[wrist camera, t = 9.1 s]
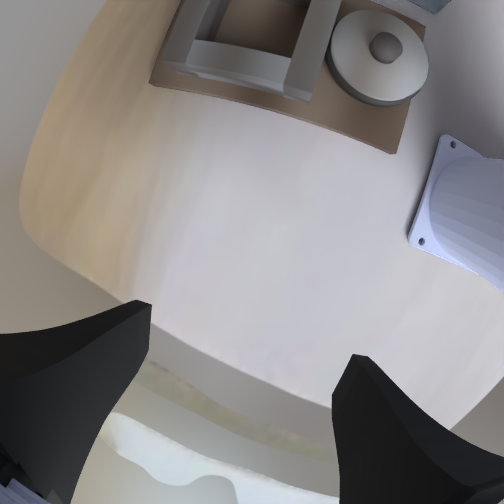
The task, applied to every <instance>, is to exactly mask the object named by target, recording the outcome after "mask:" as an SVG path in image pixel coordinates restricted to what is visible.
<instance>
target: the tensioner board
mask: <svg viewBox="0 0 504 504" xmlns="http://www.w3.org/2000/svg"><path fill="white" fill-rule="evenodd" d="M424 32H425V26H424V25H422V24H420V23H418V22H416V21H414V20H412V19H410V18H408V17H406V16H404V15H401V14H399V13H397V12H395V11H393V10H390V9H388V8H386V7H383V6H381V5H378V4H376V3H374V2H371V1H368V0H181V2H180V4H179V7H178V9H177V11H176V13H175V15H174V18H173V20H172V22H171V25H170V27H169V29H168V32H167V34H166V37H165V39H164V42H163V44H162V47H161V49H160V52H159V55H158V57H157V60H156V63H155V66H154V69H153V71H152V74H151V77H150V80H149V83H150V84H152V85H154V86H158V87H165V88H171V89H177V90H183V91H188V92H194V93H199V94H204V95H209V96H213V97H218V98H223V99H227V100H231V101H235V102H239V103H243V104H247V105H251V106H255V107H259V108H263V109H266V110H270V111H273V112H277V113H280V114H283V115H287V116H290V117H293V118H296V119H299V120H303V121H306V122H309V123H312V124H315V125H318V126H320V127H323V128H326V129H329V130H332V131H334V132H337V133H340V134H343V135H345V136H348V137H350V138H353V139H355V140H358V141H361V142H363V143H365V144H368V145H370V146H373V147H375V148H377V149H380V150H382V151H384V152H387V153H389V154H396V152H397V148H398V145H399V142H400V138H401V135H402V131H403V127H404V124H405V120H406V116H407V112H408V109H409V105H410V101H411V98H413V97H414V96H415V95H416V94H417V93H418V92H419V91H420V89H421V88H422V86H423V84H424V82H425V80H426V78H427V75H428V69H429V62H428V56H427V53H426V50H425V47H424V45H423V38H424Z"/></svg>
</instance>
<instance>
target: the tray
mask: <svg viewBox="0 0 504 504" xmlns="http://www.w3.org/2000/svg"><path fill="white" fill-rule="evenodd" d="M408 1H410V2H412V3H415V4H417V5H419V6H420V7H422V8H424V9H426V10H428V11H430V12H432V13H434V14H436V13H438V12H439V11H440V10H441V9H442V8H443V7H444V6H445V5H446V4H447V3H449V2H450V1H451V0H408Z"/></svg>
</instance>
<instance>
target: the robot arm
mask: <svg viewBox="0 0 504 504" xmlns="http://www.w3.org/2000/svg"><path fill="white" fill-rule="evenodd" d="M451 141H452V142H453V144H454V147H453V148H452V147H451V145H450V143H451ZM420 238H422V239H423V242H422V243H421V244H419V243H418V241H419V239H420ZM407 239H408V242H409V244H411V245H412V246H414V247H416V248H419V249H421V250H424V251H426V252H428V253H431V254H433V255H435V256H438V257H440V258H443V259H445V260H447V261H449V262H452V263H454V264H456V265H459V266H461V267H463V268H465V269H468V270H470V271H472V272H474V273H476V274H478V275H479V276H481V277H482V278H484V279H485V280H486V281H488V282H489V283H490V284H492V285H493V286H494V287H496V288H497V289H498V290H500V291H501V292H502V293H504V159H492V158H485V157H484V156H482V155H481V154H479V153H478V152H476V151H475V150H473V149H471V148H470V147H468V146H467V145H465V144H464V143H462V142H460V141H459V140H457V139H455V138H454V137H452V136H450V135H448V134H443V135H441V136H440V139H439V143H438V146H437V150H436V154H435V157H434V161H433V164H432V168H431V171H430V174H429V177H428V181H427V184H426V187H425V190H424V193H423V196H422V199H421V202H420V205H419V207H418V210H417V213H416V216H415V219H414V221H413V224H412V227H411V229H410V232H409V234H408V238H407ZM151 309H152V305H151V304H148V303H145V302H142V301H139V300H134V301H131V302H128V303H125V304H122V305H120V306H117V307H115V308H112V309H110V310H107V311H104V312H102V313H99V314H96V315H94V316H91V317H88V318H85V319H82V320H78V321H75V322H72V323H69V324H66V325H62V326H58V327H54V328H49V329H44V330H39V331H30V332H22V333H11V334H0V504H70V503H71V499H72V497H73V493H74V490H75V487H76V485H77V482H78V479H79V476H80V474H81V471H82V469H83V466H84V464H85V461H86V459H87V457H88V454H89V452H90V450H91V448H92V445H93V443H94V441H95V439H96V437H97V435H98V433H99V431H100V429H101V427H102V425H103V423H104V421H105V420H106V418H107V416H108V415H109V413H110V412H111V410H112V409H113V407H114V406H115V404H116V403H117V401H118V400H119V398H120V397H121V395H122V394H123V393H124V391H125V390H126V388H127V387H128V386H129V384H130V383H131V381H132V380H133V378H134V377H135V375H136V374H137V372H138V371H139V369H140V367H141V365H142V363H143V361H144V359H145V357H146V355H147V352H148V349H149V334H150V321H151ZM332 422H333V429H334V436H335V442H336V449H337V456H338V463H339V473H340V500H339V504H498V503H499V502H500V501H501V500H503V499H504V457H502V456H499V455H496V454H493V453H490V452H488V451H486V450H483V449H481V448H479V447H477V446H475V445H473V444H471V443H469V442H467V441H465V440H463V439H462V438H460V437H458V436H457V435H455V434H454V433H452V432H450V431H449V430H447V429H446V428H445V427H443V426H442V425H440V424H439V423H438V422H436V421H435V420H434V419H433V418H431V417H430V416H429V415H428V414H426V413H425V412H424V411H423V410H422V409H421V408H419V407H418V406H417V405H416V404H415V403H414V402H413V401H412V400H411V399H410V398H409V397H408V396H407V395H406V394H405V393H404V392H403V391H402V390H401V389H400V388H399V387H398V386H397V385H396V384H395V383H394V382H393V381H392V380H391V379H390V378H389V377H388V376H387V375H386V374H385V373H384V372H383V370H382V369H381V368H380V367H379V366H378V365H377V364H376V363H375V362H374V361H372V360H371V359H370V358H369V357H368V356H362V355H356V354H352V356H351V359H350V361H349V363H348V365H347V367H346V369H345V371H344V373H343V375H342V377H341V379H340V380H339V382H338V384H337V386H336V388H335V390H334V392H333V394H332Z"/></svg>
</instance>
